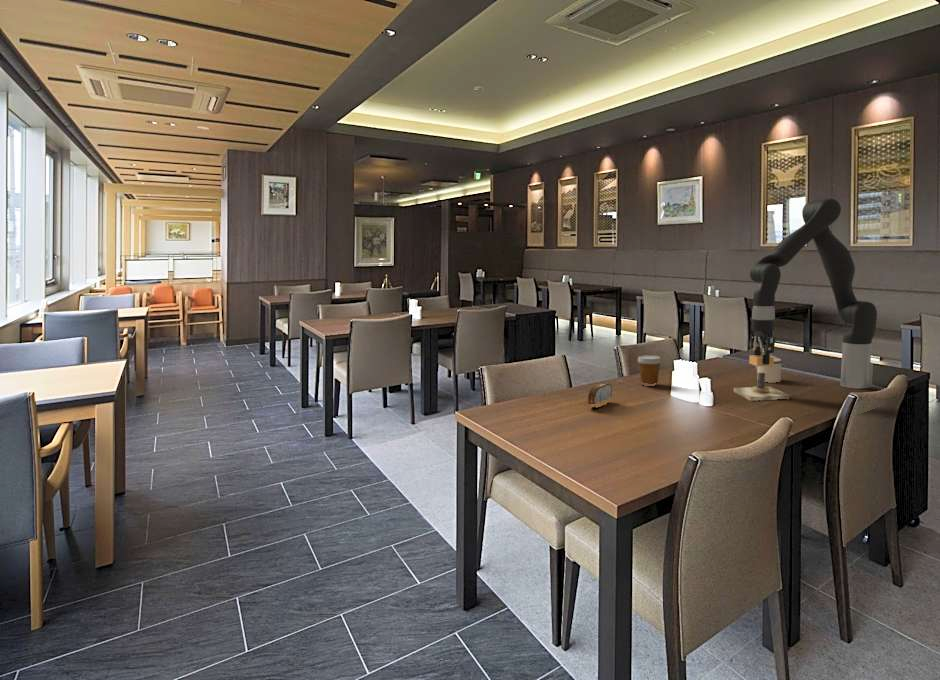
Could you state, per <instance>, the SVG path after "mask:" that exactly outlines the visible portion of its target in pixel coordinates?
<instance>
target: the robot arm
mask: <svg viewBox="0 0 940 680" xmlns="http://www.w3.org/2000/svg"><path fill="white" fill-rule="evenodd" d="M801 211H802V212H801V214H802V219H803V222H804V224H803V225H802V226H800V227H799V228H797V229H796V230H795V231H793V232H791V233H790V234H789V235H787V236H786V237H784V238H783V239H782V240H781V241H780V242H779V243H778V244H777V245H776V246H775V247H774V248H773V250H771V252H770V253H768V254H767V255H765V256H763V257H762V258H761V259H760V260H758V261H757V262H755V264H753V266H751V268H750V272H749V277H750V279H751V280H752V281H753V282H755V283H760V284H761V286H760V288H759V289H757V290H755V291H754V292H753V297H752V299H753V300H752V311H751V331H753V332H751V333H750V349H751V350H753V355H763V362H762V363H763V364H769V359H770V354H771V353H772V354H774V352H775V344H776V337H771V332H774V330H775V319H776V314H775V313H776V309H775V308H776V307H775V300H776V293H777V290H778V287H779V284H780V281H781V273H782V272H781V269H780V267H784V266H787V264H789V262H791V261H792V260H793V258H795V256H796V255H797V254H798V253H799V252H800V251H802V249H803V248H804V247H805V246H806V245H808V244H809V243H810V242H811V241H812V240H813V242H814V244H815V246H816V250H817V251H818V254H819V256H820V259H821V262H822V265H823V266H822V267H823V268H824V270H825V274H826V276H827V278H828V280H829V284H830V286H831V289H832V292H833V295H834V299H835V303H836V308H837V312H838V315H839V318H840V319H841V321H842V322H844V323H845V324H848V325H852V329H851V331H850V332H849V333H845V334H843V336H842V347H841V348H842V351H841V365H840V366H841V368H840V370H841V371H840V384H839V385H840V386H841V387H843V388H846V389H847V388H848V389H854V390H855V389H856V390H858V389H861V390H863V389H869V388H872V386H873V371H874V363H873V362H871V360H872V359H871V358H872V344H873V338H874V336H875V333H876V329H877V328H876V327H877V318H878V312H877V307H876V305H874V304H873V303H872V302H870V301H863V300H857V297H856V296H855V293H854V291H853V281H854V278H855V274H856V273H855V272H856V269H855V268H856V267H855V263H854V261H853V257H852V254H851V253H850V250H849V249H848V247H846V245H845V244H844V243H842V242H841V240H839V239H837V237H836V236H835V235H834V233H832V232H833V231H831V228H830V227H829V226H831V225H832V224H833V223H834V222H835V221H837V220H838V218H839V217H840V216H841V211H842V209H841V205H840V203H839V201H838V200H836V199H834V198H823V199H817V200H812V201H808V202H806V204H805V205H804V206H803V207H802V210H801Z"/></svg>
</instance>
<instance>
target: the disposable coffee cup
mask: <svg viewBox="0 0 940 680" xmlns="http://www.w3.org/2000/svg"><path fill="white" fill-rule="evenodd" d="M637 358H638V359H637V363H638V368H639V379H640V383H641V382H643V383H648V384H654V383H657V384H658V380H659V375H660V374H659V373H660V366H661V362H662V359H661V357H660V356H658V355H655V354H654V355H653V354H652V355H651V354H649V355H646V354H645V355H639V356H638V357H637Z"/></svg>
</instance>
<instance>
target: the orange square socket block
mask: <svg viewBox="0 0 940 680" xmlns="http://www.w3.org/2000/svg"><path fill="white" fill-rule="evenodd" d="M748 361H749V364H751V365H753V366H755V367H756V366H774V358H773V357H770V359H769V364H763V363H762V362H763V354H761V355H754V354H752V355H749V360H748Z"/></svg>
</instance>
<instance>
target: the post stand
mask: <svg viewBox="0 0 940 680" xmlns="http://www.w3.org/2000/svg"><path fill="white" fill-rule="evenodd" d="M756 380H757V379H756ZM733 392H734V394H737V395H739V396H740V397H743V398H745V399H746V400H748V401H750V402H757V401H759V400H760V401H778V400H777V399H787V400H790V397H791V396H790V394H787V393H785V392H783V391H782V390H781V391H780V390H779V389H777V388H774V387H773V386H766V385H765V373H758V380H757V384H756V385H754V386H752V387H751V386H749V387H733Z"/></svg>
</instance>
